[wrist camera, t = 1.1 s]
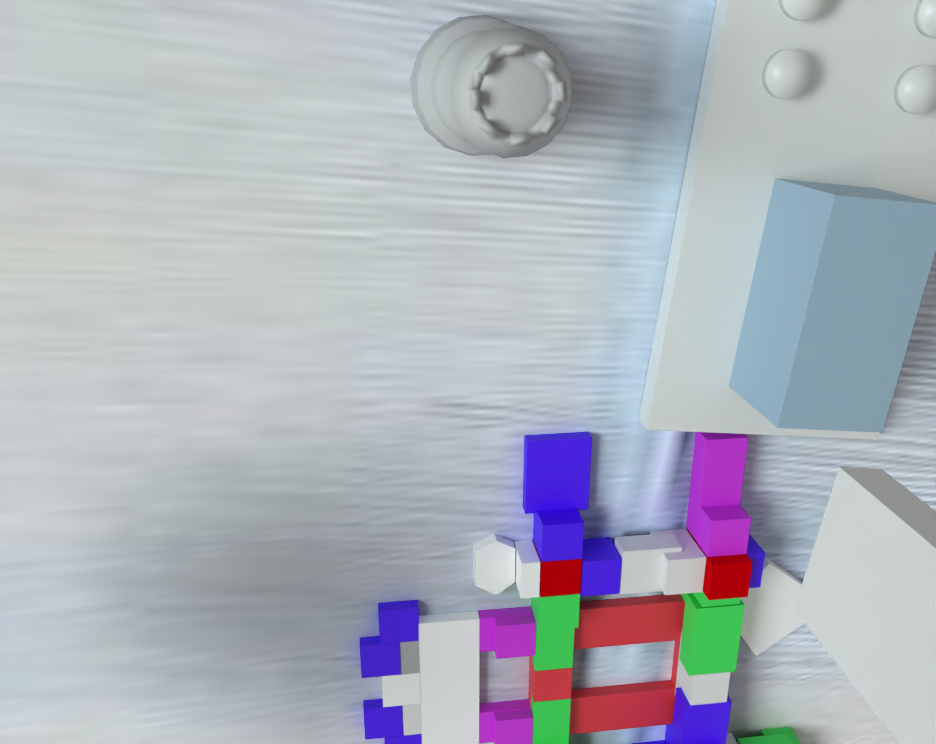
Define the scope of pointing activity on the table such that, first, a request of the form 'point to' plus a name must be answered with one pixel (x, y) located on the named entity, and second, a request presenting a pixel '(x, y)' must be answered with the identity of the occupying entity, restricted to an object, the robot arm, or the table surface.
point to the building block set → (591, 616)
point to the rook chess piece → (490, 88)
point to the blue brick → (833, 304)
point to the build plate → (781, 172)
